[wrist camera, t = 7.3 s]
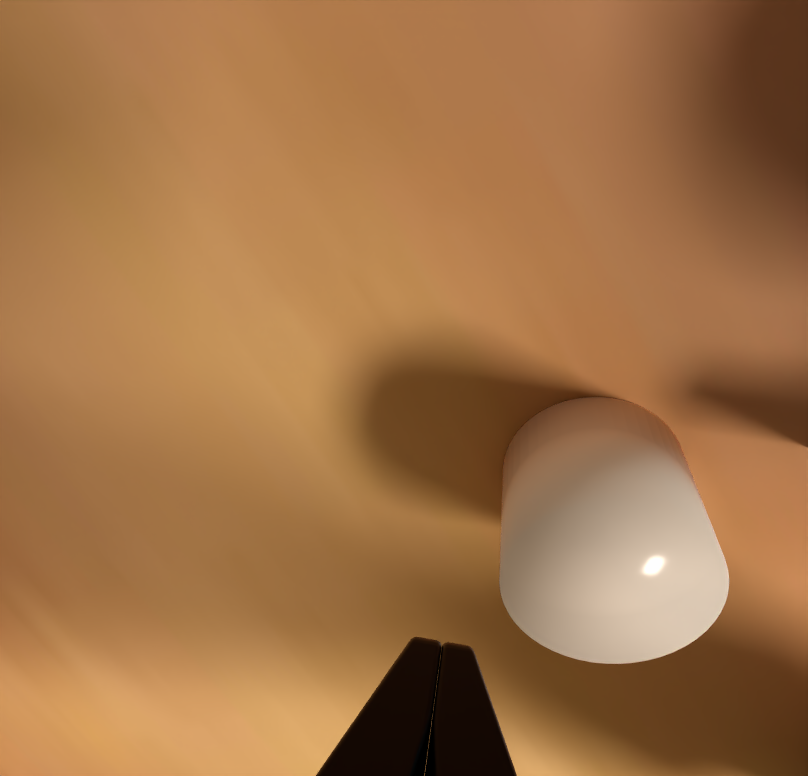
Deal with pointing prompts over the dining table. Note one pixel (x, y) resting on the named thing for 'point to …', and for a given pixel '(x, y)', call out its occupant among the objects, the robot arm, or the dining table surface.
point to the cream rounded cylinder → (606, 535)
